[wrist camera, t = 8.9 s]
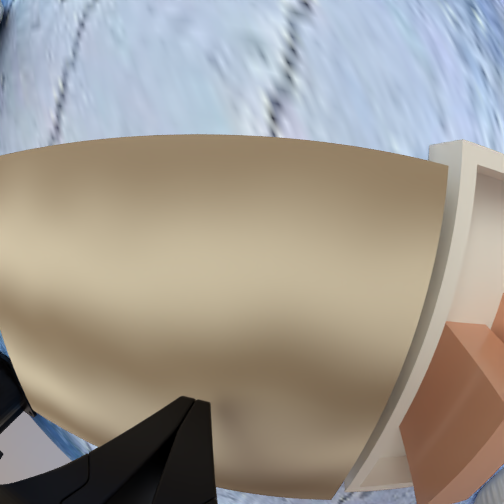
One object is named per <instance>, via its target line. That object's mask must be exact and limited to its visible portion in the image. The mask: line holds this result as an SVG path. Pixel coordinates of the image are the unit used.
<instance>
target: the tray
mask: <svg viewBox="0 0 504 504" xmlns="http://www.w3.org/2000/svg"><path fill="white" fill-rule="evenodd" d="M428 161H432V162H436V163H440V164H444V165H447V166H449V168H448V179H447V189H446V198H445V205H444V213H443V219H442V225H441V231H440V237H439V242H438V247H437V252H436V257H435V262H434V266H433V270H432V274H431V279H430V283H429V286H428V290H427V294H426V298H425V301H424V305H423V308H422V311H421V315H420V318H419V321H418V324H417V327H416V330H415V333H414V336H413V339H412V342H411V345H410V348H409V350H408V353H407V356H406V359H405V361H404V364H403V366H402V369H401V371H400V374H399V376H398V379H397V381H396V383H395V386H394V388H393V390H392V393H391V395H390V397H389V399H388V401H387V404H386V406H385V408H384V410H383V412H382V414H381V416H380V418H379V420H378V422H377V424H376V426H375V428H374V430H373V432H372V434H371V436H370V437H369V439H368V441H367V443H366V445H365V447H364V448H363V450H362V452H361V454H360V455H359V457H358V459H357V460H356V462H355V464H354V465H353V467H352V469H351V470H350V472H349V474H348V475H347V477H346V478H345V480H344V487H345V492H362V491H377V490H388V489H397V488H405V487H412V486H413V482H412V477H411V473H410V468H409V464H408V460H407V456H406V452H405V448H404V444H403V440H402V436H401V433H400V429H399V425H400V424H401V422H402V420H403V418H404V416H405V414H406V413H407V411H408V409H409V407H410V405H411V403H412V401H413V399H414V397H415V395H416V393H417V391H418V389H419V387H420V385H421V382H422V380H423V378H424V376H425V374H426V371H427V369H428V367H429V364H430V362H431V360H432V357H433V355H434V352H435V350H436V347H437V345H438V342H439V339H440V337H441V334H442V331H443V328H444V326H445V323H446V321H450V322H461V323H473V324H485V325H487V327H488V328H489V329H491V327H492V324H493V321H494V319H495V316H496V313H497V310H498V307H499V304H500V301H501V298H502V295H503V293H504V154H502V153H500V152H497V151H494V150H492V149H489V148H486V147H484V146H481V145H478V144H475V143H472V142H469V141H466V140H463V139H462V140H456V141H450V142H444V143H439V144H433V145H429V159H428Z"/></svg>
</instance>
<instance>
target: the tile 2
mask: <svg viewBox="0 0 504 504" xmlns="http://www.w3.org/2000/svg"><path fill="white" fill-rule="evenodd" d="M490 330H491V331H492V332H493V333H494V334H495V335H496V336H497V337H498V338H499V339H500V340H501V341H502V342H503V343H504V293H503V295H502V298H501V301H500V304H499V307H498V310H497V313H496V316H495V319H494V321H493V324H492V327H491V329H490Z"/></svg>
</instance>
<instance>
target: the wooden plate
mask: <svg viewBox="0 0 504 504" xmlns="http://www.w3.org/2000/svg"><path fill="white" fill-rule="evenodd" d="M448 168H449V166H447V165H444V164H440V163H436V162H432V161H427V160H423V159H419V158H414V157H410V156H405V155H400V154H395V153H390V152H385V151H379V150H374V149H368V148H362V147H355V146H349V145H342V144H334V143H327V142H319V141H310V140H300V139H289V138H277V137H263V136H244V135H206V134H191V135H153V136H134V137H121V138H109V139H99V140H89V141H81V142H73V143H66V144H59V145H53V146H47V147H41V148H35V149H30V150H25V151H20V152H15V153H10V154H6V155H1V156H0V330H1V333H2V336H3V339H4V342H5V345H6V348H7V351H8V354H9V357H10V359H11V362H12V364H13V367H14V370H15V372H16V374H17V377H18V379H19V382H20V384H21V386H22V388H23V391H24V393H25V395H26V397H27V399H28V401H29V403H30V405H31V407H32V409H33V411H35V412H37V413H38V414H40V415H41V416H43V417H44V418H46V419H48V420H49V421H51V422H53V423H54V424H56V425H58V426H59V427H61V428H63V429H65V430H66V431H68V432H70V433H72V434H74V435H76V436H78V437H79V438H81V439H83V440H85V441H87V442H89V443H91V444H93V445H95V446H98V447H100V446H102V445H103V444H105V443H107V442H108V441H110V440H112V439H114V438H115V437H117V436H119V435H120V434H122V433H124V432H125V431H127V430H129V429H130V428H132V427H134V426H135V425H137V424H138V423H140V422H142V421H143V420H145V419H146V418H148V417H150V416H151V415H153V414H154V413H156V412H157V411H159V410H160V409H162V408H163V407H165V406H167V405H168V404H170V403H171V402H173V401H174V400H176V399H177V398H179V397H180V396H187V397H191V398H194V399H196V400H197V399H200V400H204V401H209V402H210V403H211V419H212V438H213V454H214V469H215V482H216V487H219V488H224V489H229V490H234V491H240V492H245V493H252V494H259V495H266V496H275V497H285V498H299V499H324V500H331V499H332V498H333V496H334V495H335V493H336V492H337V490H338V489H339V487H340V486H341V484H342V483H343V481H344V480H345V478H346V477H347V475H348V474H349V472H350V470H351V469H352V467H353V465H354V464H355V462H356V460H357V459H358V457H359V455H360V454H361V452H362V450H363V448H364V447H365V445H366V443H367V441H368V439H369V437H370V436H371V434H372V432H373V430H374V428H375V426H376V424H377V422H378V420H379V418H380V416H381V414H382V412H383V410H384V408H385V406H386V404H387V401H388V399H389V397H390V395H391V393H392V390H393V388H394V386H395V383H396V381H397V379H398V376H399V374H400V371H401V369H402V366H403V364H404V361H405V359H406V356H407V353H408V350H409V348H410V345H411V342H412V339H413V336H414V333H415V330H416V327H417V324H418V321H419V318H420V315H421V311H422V308H423V305H424V301H425V298H426V294H427V290H428V286H429V283H430V279H431V274H432V270H433V266H434V262H435V257H436V252H437V247H438V242H439V237H440V231H441V225H442V219H443V213H444V205H445V198H446V189H447V179H448Z"/></svg>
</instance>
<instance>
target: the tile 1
mask: <svg viewBox="0 0 504 504" xmlns="http://www.w3.org/2000/svg"><path fill="white" fill-rule="evenodd" d="M399 429H400V433H401V436H402V440H403V444H404V448H405V452H406V456H407V460H408V464H409V468H410V473H411V477H412V482H413V486H414V491H415V496H416V501H417V504H453V503H456V502H460V501H463V500H467V499H468V498H469V497H470V496H471V495H472V494H473V493H475V492H476V491H477V490H478V489H479V488H480V487H481V486H482V485H483V484H484V483H485V482H486V481H487V480H488V479H489V478H490V477H491V476H492V475H493V474H494V473H495V472H496V471H497V470H498V469H499V468H500V467H501V466H502V465H503V464H504V343H503V342H502V341H501V340H500V339H499V338H498V337H497V336H496V335H495V334H494V333H493V332H492V331H491V330H490V329H489V328H488V327H487V325H485V324H473V323H461V322H450V321H446V323H445V326H444V328H443V331H442V334H441V337H440V339H439V342H438V345H437V347H436V350H435V352H434V355H433V357H432V360H431V362H430V364H429V367H428V369H427V371H426V374H425V376H424V378H423V380H422V382H421V385H420V387H419V389H418V391H417V393H416V395H415V397H414V399H413V401H412V403H411V405H410V407H409V409H408V411H407V413H406V414H405V416H404V418H403V420H402V422H401V424H400V425H399Z"/></svg>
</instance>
